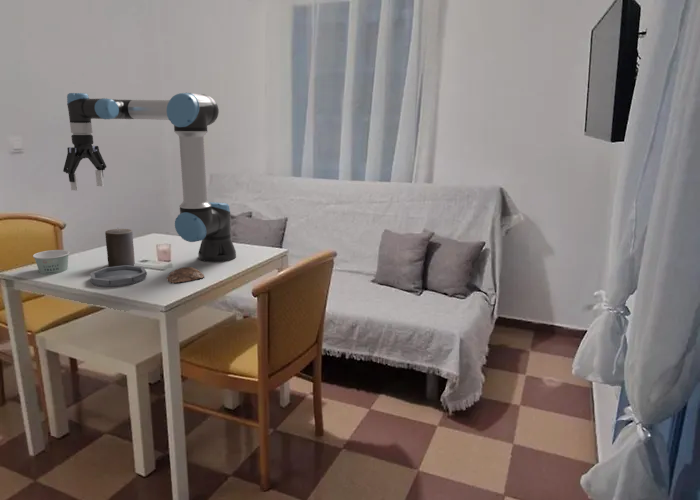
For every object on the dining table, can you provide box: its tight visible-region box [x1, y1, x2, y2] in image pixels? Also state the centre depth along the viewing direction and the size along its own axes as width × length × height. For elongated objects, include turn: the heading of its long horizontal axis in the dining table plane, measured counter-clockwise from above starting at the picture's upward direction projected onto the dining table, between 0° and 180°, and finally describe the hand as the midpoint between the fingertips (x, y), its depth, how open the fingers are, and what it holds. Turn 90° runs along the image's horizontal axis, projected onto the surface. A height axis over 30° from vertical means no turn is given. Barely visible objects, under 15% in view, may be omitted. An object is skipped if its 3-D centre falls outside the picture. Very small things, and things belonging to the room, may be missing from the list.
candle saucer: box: [90, 265, 148, 288], centre depth 184 cm, size 18×18×2 cm
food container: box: [32, 249, 71, 275], centre depth 192 cm, size 12×12×6 cm
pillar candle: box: [104, 228, 136, 267], centre depth 199 cm, size 10×10×15 cm
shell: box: [166, 266, 205, 284], centre depth 187 cm, size 12×13×4 cm
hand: (88, 188), depth 207 cm, fingers open, 13 cm apart
